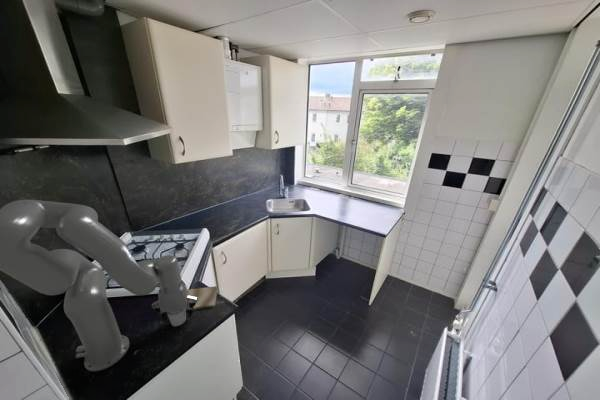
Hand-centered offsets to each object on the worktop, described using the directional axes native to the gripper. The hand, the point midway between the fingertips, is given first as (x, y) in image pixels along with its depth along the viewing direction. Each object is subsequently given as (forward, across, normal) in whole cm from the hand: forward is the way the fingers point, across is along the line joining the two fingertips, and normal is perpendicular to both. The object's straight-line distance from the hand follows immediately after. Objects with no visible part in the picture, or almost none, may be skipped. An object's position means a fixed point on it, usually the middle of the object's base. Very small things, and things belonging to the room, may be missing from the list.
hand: (178, 316), depth 94 cm
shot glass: (+2, 0, 0) cm, 2 cm away
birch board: (+2, +4, +11) cm, 12 cm away
